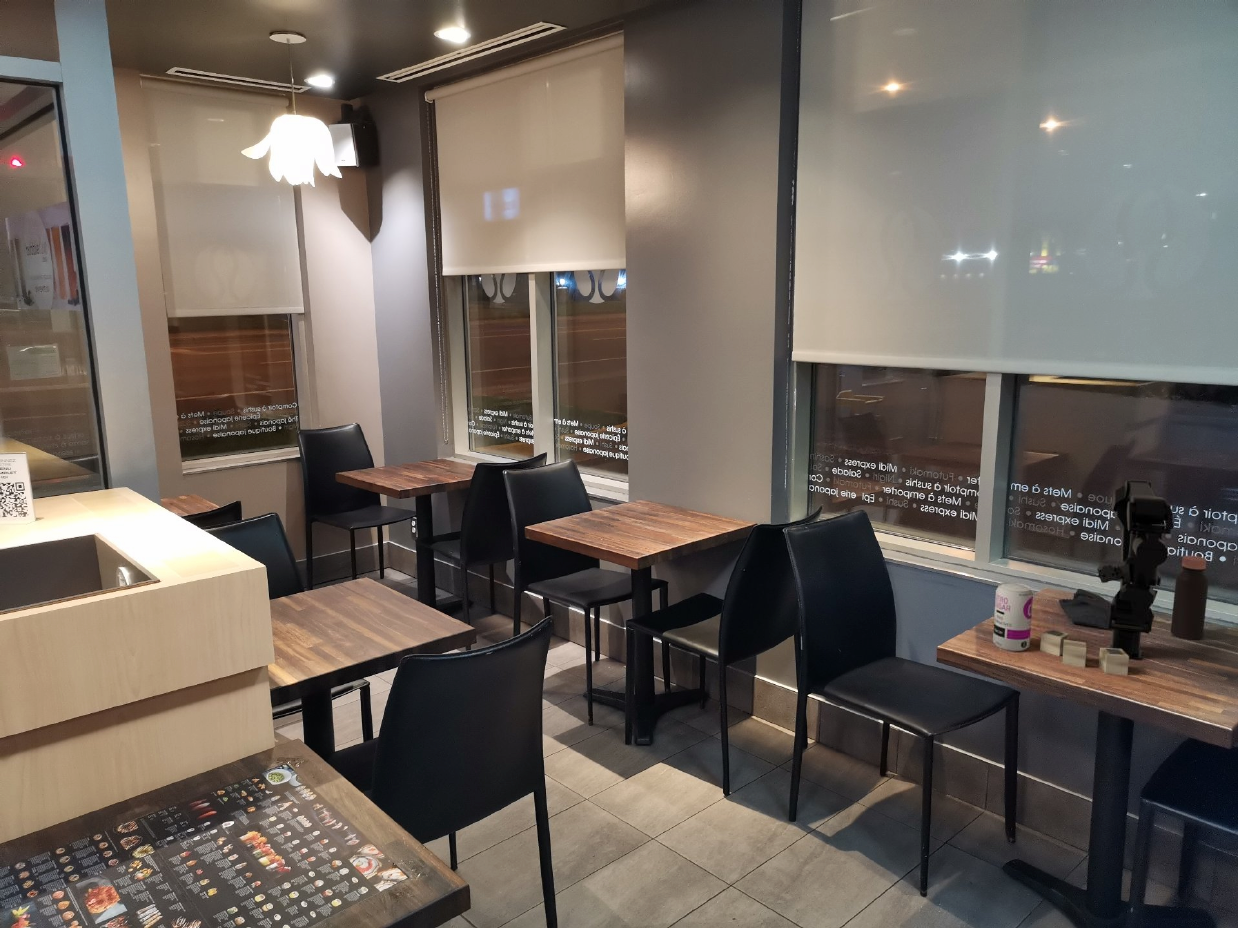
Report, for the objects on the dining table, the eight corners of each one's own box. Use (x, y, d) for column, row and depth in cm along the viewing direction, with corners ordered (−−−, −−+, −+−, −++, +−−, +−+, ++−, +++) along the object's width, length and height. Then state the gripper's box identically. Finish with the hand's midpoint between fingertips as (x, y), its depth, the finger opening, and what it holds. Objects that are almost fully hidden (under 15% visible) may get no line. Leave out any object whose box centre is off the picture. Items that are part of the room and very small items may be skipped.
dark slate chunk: (1059, 626, 225) (1060, 608, 224) (1058, 601, 244) (1059, 585, 243) (1127, 635, 218) (1128, 617, 217) (1120, 608, 238) (1121, 592, 237)
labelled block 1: (1048, 646, 210) (1050, 627, 210) (1067, 651, 207) (1069, 633, 206) (1040, 650, 208) (1041, 632, 207) (1059, 656, 204) (1060, 637, 203)
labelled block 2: (1098, 666, 198) (1100, 646, 198) (1119, 667, 197) (1121, 648, 197) (1105, 673, 194) (1107, 654, 193) (1127, 675, 193) (1129, 655, 192)
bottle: (1197, 642, 212) (1206, 563, 208) (1166, 634, 217) (1174, 558, 213) (1206, 635, 216) (1214, 558, 213) (1175, 628, 221) (1183, 552, 218)
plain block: (1062, 657, 203) (1063, 639, 203) (1084, 660, 201) (1085, 642, 201) (1062, 664, 199) (1064, 646, 199) (1084, 667, 197) (1086, 649, 197)
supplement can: (1033, 645, 211) (1038, 586, 208) (1022, 654, 205) (1026, 594, 203) (999, 637, 216) (1003, 579, 214) (987, 646, 211) (991, 587, 208)
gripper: (1108, 539, 200) (1102, 604, 203) (1095, 558, 185) (1089, 627, 188) (1164, 546, 193) (1157, 613, 196) (1156, 566, 179) (1149, 638, 181)
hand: (1137, 622), depth 190 cm, fingers closed
